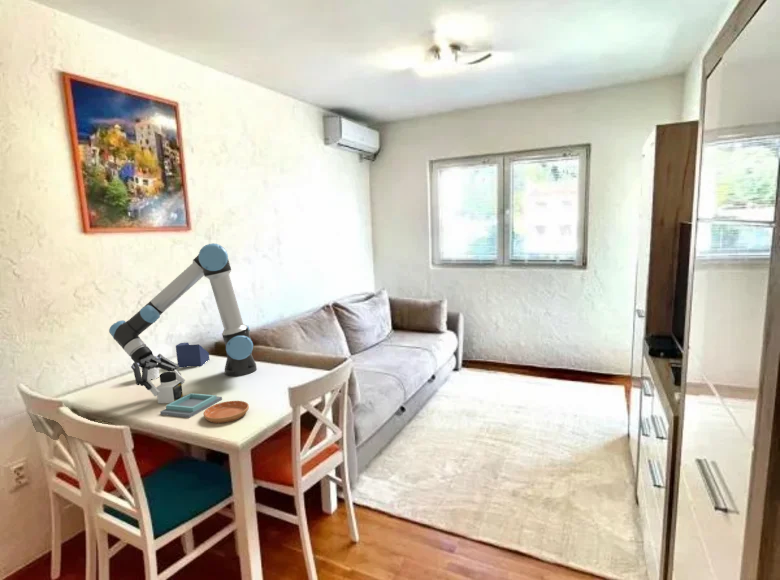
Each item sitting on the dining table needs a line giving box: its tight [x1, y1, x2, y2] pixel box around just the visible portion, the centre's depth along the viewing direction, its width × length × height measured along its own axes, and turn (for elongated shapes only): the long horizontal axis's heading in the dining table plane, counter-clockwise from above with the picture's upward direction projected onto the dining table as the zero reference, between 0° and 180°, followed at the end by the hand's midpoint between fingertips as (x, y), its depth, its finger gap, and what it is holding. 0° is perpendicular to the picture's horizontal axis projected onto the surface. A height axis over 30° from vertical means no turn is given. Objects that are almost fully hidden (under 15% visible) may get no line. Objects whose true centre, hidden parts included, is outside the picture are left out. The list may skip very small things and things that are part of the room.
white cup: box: [140, 355, 160, 381], centre depth 212 cm, size 8×8×10 cm
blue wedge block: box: [175, 342, 210, 368], centre depth 233 cm, size 12×12×12 cm
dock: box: [159, 392, 223, 418], centre depth 173 cm, size 18×14×3 cm
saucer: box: [202, 400, 249, 424], centre depth 162 cm, size 16×16×3 cm
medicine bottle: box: [155, 371, 184, 404], centre depth 181 cm, size 7×7×12 cm
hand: (170, 388), depth 180 cm, fingers open, 13 cm apart
